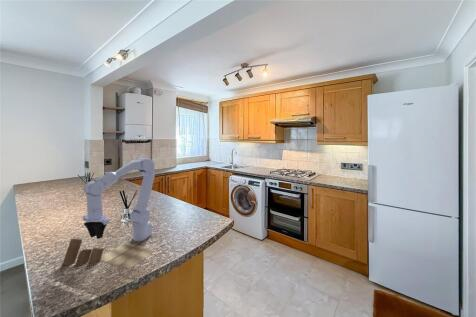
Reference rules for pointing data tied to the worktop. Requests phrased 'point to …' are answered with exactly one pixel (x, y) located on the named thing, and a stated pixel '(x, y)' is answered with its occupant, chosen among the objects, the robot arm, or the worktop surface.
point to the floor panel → (133, 260)
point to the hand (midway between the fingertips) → (96, 237)
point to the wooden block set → (81, 253)
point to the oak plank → (117, 252)
